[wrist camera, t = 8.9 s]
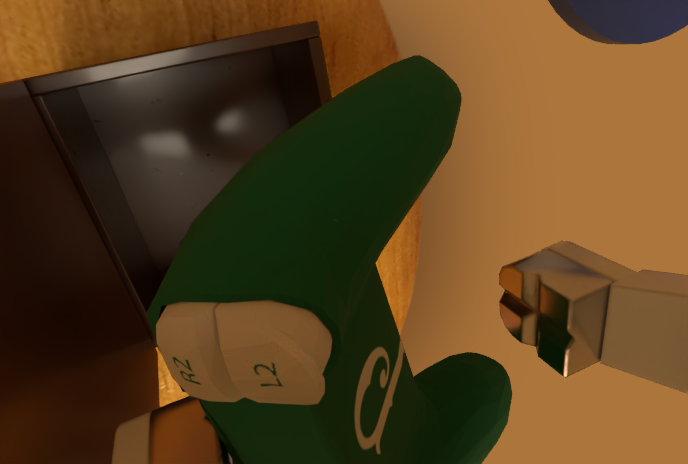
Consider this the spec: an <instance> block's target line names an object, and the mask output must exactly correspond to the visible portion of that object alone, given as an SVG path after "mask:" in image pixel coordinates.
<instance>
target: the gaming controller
mask: <svg viewBox="0 0 688 464" xmlns="http://www.w3.org/2000/svg"><path fill="white" fill-rule="evenodd" d="M460 106H461V93H460V91H459V88H458V86H457V84H456V83H455V82H454V81H453V80H452V79H451V78H450V77H449V76H448V75H447V74H446V73H445V72H444V70H442V69H441V68H440V67H438V66H437V65H435V64H434V63H432V62H431V61H430V60H428V59H426V58H424V57H422V56H420V55H419V56H412V57H410V58H407V59H404V60H401V61H399V62H396V63H393V64H391V65H389V66H388V67H386V68H384V69H382V70H380V71H378V72H377V73H375V74H373V75H371V76H369V77H368V78H366V79H364V80H362V81H360V82H358V83H357V84H355V85H353V86H351V87H349V88H348V89H346V90H344V91H343V92H341V93H340V94H339V95H337V96H336V97H334V98H333V99H331V100H330V101H328V102H327V103H326V104H324V105H323V106H321V107H320V108H318V109H317V110H316V111H314V112H313V113H311V114H310V115H308V116H307V117H305V118H304V119H303V120H301V121H300V122H298V123H297V124H295V125H294V126H293V127H291V128H290V129H288V130H287V131H285V132H284V133H283V134H281V135H280V136H278V137H277V138H275V139H274V140H273V141H271V142H270V143H269V144H267V145H266V146H265V147H263V148H262V149H261V150H259V151H258V152H257V153H255V154H254V155H253V156H252V157H251V158H250V159H249V160H248V161H247V162H246V163H245V164H244V165H243V167H242V168H241V169H240V170H239V171H238V172H237V173H236V174H235V175H234V176H233V178H232V179H231V180H230V181H229V182H228V183H227V184H226V185H225V186H224V187H223V188H222V190H221V191H220V192H219V193H218V194H217V195H216V196H215V197H214V198H213V199H212V200H211V202H210V203H209V204H208V205H207V206H206V207H205V208H204V209H203V210H202V211H201V213H200V214H199V215H198V216H197V217H196V218H195V219H194V220H193V221H192V223H191V225H190V227H189V229H188V231H187V233H186V235H185V237H184V238H183V239H182V240H181V241H180V242H179V243H180V247H179V249H178V251H177V253H176V255H175V257H174V259H173V261H172V263H171V265H170V267H169V269H168V271H167V273H166V275H165V277H164V279H163V281H162V283H161V285H160V287H159V289H158V291H157V293H156V295H155V297H154V299H153V301H152V303H151V305H150V307H149V309H148V311H147V313H146V314H147V317H148V320H149V323H150V326H151V330H152V333H153V336H154V339H155V342H156V345H157V347H158V349H159V350H160V352H161V354H162V356H163V358H164V360H165V363H166V365H167V367H168V369H169V371H170V373H171V375H172V377H173V378H174V379H175V381H176V382H177V383H178V384H179V386H180V387H181V389H182V391H183V392H187V394H188V395H189V396H193V397H196V398H199V402H200V405H201V407H202V409H203V411H204V412H205V414H206V416H207V418H208V419H209V421H210V423H211V424H212V426H213V428H214V429H215V431H216V433H217V434H218V436H219V438H220V440H221V441H222V443H223V445H224V446H225V448H226V450H227V451H228V453H229V455H230V456H231V458H232V459H233V460H234V462H235V463H236V464H482V462H483V461H484V459H485V458H486V457H487V455H488V454H489V452H490V451H491V450H492V448H493V447H494V445H495V444H496V443H497V441H498V439H499V438H500V436H501V434H502V432H503V430H504V428H505V426H506V425H507V422H508V416H509V410H510V404H511V399H512V390H511V384H510V379H509V376H508V374H507V372H506V370H505V369H504V367H503V366H502V365H501V364H499V363H498V362H496V361H495V360H494V359H491V358H489V357H487V356H484V355H481V354H478V353H471V352H470V353H469V352H467V353H462V354H457V355H452V356H449V357H447V358H445V359H443V360H441V361H439V362H437V363H436V364H434V365H432V366H430V367H428V368H426V369H425V370H423V371H422V372H420V373H418V374H417V375H416V376H414V377H413V374H412V371H411V368H410V366H409V362H408V359H407V356H406V353H405V350H404V347H403V344H402V342H401V339H400V335H399V332H398V329H397V326H396V323H395V320H394V317H393V314H392V311H391V309H390V306H389V303H388V300H387V297H386V294H385V291H384V288H383V285H382V282H381V279H380V276H379V273H378V270H377V267H376V264H375V263H376V261H377V259H378V257H379V256H380V254H381V252H382V250H383V249H384V247H385V246H386V244H387V243H388V241H389V240H390V238H391V237H392V235H393V234H394V232H395V231H396V229H397V228H398V227H399V225H400V224H401V222H402V221H403V219H404V218H405V216H406V215H407V213H408V212H409V210H410V209H411V207H412V206H413V204H414V203H415V201H416V200H417V198H418V197H419V195H420V194H421V192H422V191H423V189H424V188H425V186H426V185H427V183H428V182H429V180H430V179H431V177H432V176H433V174H434V173H435V171H436V169H437V168H438V166H439V165H440V163H441V161H442V160H443V158H444V157H445V155H446V154H447V152H448V150H449V149H450V147H451V145H452V141H453V136H454V132H455V128H456V124H457V120H458V116H459V111H460Z"/></svg>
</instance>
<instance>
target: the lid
mask: <svg viewBox="0 0 688 464" xmlns="http://www.w3.org/2000/svg"><path fill="white" fill-rule="evenodd" d="M157 408H160V406H159V380H158V354H157V351H156V349H155V347H154V345H153V343H152V341H151V339H150V337H149V335H148V332H147V330H146V328H145V326H144V324H143V322H142V320H141V318H140V316H139V314H138V312H137V310H136V308H135V306H134V304H133V302H132V300H131V298H130V296H129V294H128V292H127V290H126V288H125V286H124V284H123V282H122V280H121V278H120V276H119V274H118V272H117V270H116V268H115V266H114V264H113V262H112V260H111V258H110V256H109V254H108V252H107V250H106V248H105V246H104V244H103V242H102V240H101V238H100V236H99V234H98V232H97V230H96V228H95V226H94V224H93V222H92V219H91V217H90V215H89V213H88V211H87V209H86V207H85V205H84V203H83V201H82V199H81V197H80V195H79V193H78V191H77V189H76V187H75V185H74V183H73V181H72V179H71V177H70V175H69V173H68V171H67V169H66V167H65V165H64V163H63V161H62V159H61V157H60V155H59V153H58V151H57V149H56V147H55V145H54V143H53V141H52V139H51V137H50V135H49V133H48V131H47V129H46V127H45V125H44V123H43V121H42V119H41V117H40V115H39V113H38V111H37V109H36V107H35V104H34V102H33V100H32V98H31V96H30V94H29V92H28V90H27V88H26V86H25V84H24V82H23V81H22V80H14V81H9V82H4V83H0V464H111V463H112V454H113V446H114V437H115V432H116V430H117V428H118V426H119V425H120V424H121V423H123V422H126V421H128V420H131V419H133V418H136V417H139V416H141V415H144V414H146V413H149V412H152V411H153V410H155V409H157Z"/></svg>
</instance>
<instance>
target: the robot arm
mask: <svg viewBox="0 0 688 464" xmlns="http://www.w3.org/2000/svg"><path fill="white" fill-rule="evenodd" d="M499 284H500V285H501V286H502V287H503V288H504V289H505V292H504V294H503V296H502V298H501V300H500V302H499V303H500V315H501V318H502V320H503V322H504V325H505V327H506V328H507V329H508V330H509V332H510V333H511V334H512V336H514V337H515V338H516V339H517V340H519V341H520V342H521V343H524V344H528V345H532V346H535V347H536V350H537V354H538V357H540V358H541V359H542V360H543V361H545V362H546V363H547V364H549V365H550V366H551V367H552V368H554V369H555V370H556V371H557V372H558V373H560V374H561V375H562V376H564V377H565V378H566V377H568V376H570V375H572V374H574V373H576V372H578V371H580V370H582V369H585V368H586V367H589V366H590V365H593V364H595V363H597V362H599V361H601V364H604V365H607V366H610V367H612V368H616V369H618V370H621V371H624V372H627V373H630V374H633V375H636V376H638V377H641V378H644V379H647V380H650V381H653V382H656V383H659V384H661V385H664V386H667V387H670V388H673V389H676V390H679V391H681V392H684V393H687V394H688V275H683V274H675V273H667V272H659V271H651V270H641V271H639V272H636V271H633V270H631V269H629V268H627V267H624V266H622V265H620V264H618V263H616V262H614V261H611V260H609V259H607V258H605V257H603V256H600V255H598V254H596V253H594V252H591V251H589V250H587V249H585V248H583V247H580V246H578V245H576V244H574V243H572V242H568V241H560V242H558V243H555V244H553V245H551V246H549V247H546V248H544V249H542V250H541V251H538V252H536V253H534V254H531V255H529V256H526V257H524V258H522V259H519V260H517V261H515V262H512V263H510V264H508V265H505V266H503V267H502V269H501V271H500V273H499ZM111 464H236V463H235V462H234V460H233V459H232V458H231V456H230V455H229V453H228V451H227V450H226V448H225V446H224V445H223V443H222V441H221V440H220V438H219V436H218V434H217V433H216V431H215V429H214V428H213V426H212V424H211V423H210V421H209V419H208V418H207V416H206V414H205V412H204V411H203V409H202V407H201V405H200V402H199V398H196V397H193V396H188V397H186V398H183V399H181V400H178V401H175V402H173V403H170V404H168V405H165V406H163V407H160V408H157V409H155V410H153V411H152V412H149V413H146V414H144V415H141V416H139V417H136V418H133V419H131V420H128V421H126V422H123V423H121V424H120V425H119V426H118V428H117V430H116V432H115V437H114V446H113V454H112V463H111Z"/></svg>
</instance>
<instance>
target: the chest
mask: <svg viewBox="0 0 688 464" xmlns="http://www.w3.org/2000/svg"><path fill="white" fill-rule="evenodd" d="M319 36H320V31H319V26H318V22H317V21H312V22H306V23H301V24H296V25H291V26H286V27H281V28H276V29H271V30H266V31H261V32H256V33H251V34H246V35H241V36H236V37H231V38H226V39H221V40H216V41H211V42H206V43H201V44H196V45H191V46H186V47H181V48H176V49H171V50H166V51H160V52H155V53H150V54H145V55H140V56H135V57H130V58H125V59H120V60H115V61H110V62H105V63H100V64H95V65H90V66H85V67H80V68H75V69H70V70H65V71H60V72H55V73H50V74H45V75H40V76H35V77H30V78H25V79H20V80H22V81H23V82H24V84H25V86H26V88H27V90H28V92H29V94H30V96H31V98H32V100H33V102H34V104H35V107H36V109H37V111H38V113H39V115H40V117H41V119H42V121H43V123H44V125H45V127H46V129H47V131H48V133H49V135H50V137H51V139H52V141H53V143H54V145H55V147H56V149H57V151H58V153H59V155H60V157H61V159H62V161H63V163H64V165H65V167H66V169H67V171H68V173H69V175H70V177H71V179H72V181H73V183H74V185H75V187H76V189H77V191H78V193H79V195H80V197H81V199H82V201H83V203H84V205H85V207H86V209H87V211H88V213H89V215H90V217H91V219H92V222H93V224H94V226H95V228H96V230H97V232H98V234H99V236H100V238H101V240H102V242H103V244H104V246H105V248H106V250H107V252H108V254H109V256H110V258H111V260H112V262H113V264H114V266H115V268H116V270H117V272H118V274H119V276H120V278H121V280H122V282H123V284H124V286H125V288H126V290H127V292H128V294H129V296H130V298H131V300H132V302H133V304H134V306H135V308H136V310H137V312H138V314H139V316H140V318H141V320H142V322H143V324H144V326H145V328H146V330H147V332H148V335H149V337H150V339H151V341H152V343H153V345H154V347H157V345H156V342H155V339H154V336H153V333H152V330H151V326H150V323H149V320H148V317H147V314H146V313H147V311H148V309H149V307H150V305H151V303H152V301H153V299H154V297H155V295H156V293H157V291H158V289H159V287H160V285H161V283H162V281H163V279H164V277H165V275H166V273H167V271H168V269H169V267H170V265H171V263H172V261H173V259H174V257H175V255H176V253H177V251H178V249H179V247H180V243H179V242H180V241H181V240H182V239H183V238H184V237H185V235H186V233H187V231H188V229H189V227H190V225H191V223H192V221H193V220H194V219H195V218H196V217H197V216H198V215H199V214H200V213H201V211H202V210H203V209H204V208H205V207H206V206H207V205H208V204H209V203H210V202H211V200H212V199H213V198H214V197H215V196H216V195H217V194H218V193H219V192H220V191H221V190H222V188H223V187H224V186H225V185H226V184H227V183H228V182H229V181H230V180H231V179H232V178H233V176H234V175H235V174H236V173H237V172H238V171H239V170H240V169H241V168H242V167H243V165H244V164H245V163H246V162H247V161H248V160H249V159H250V158H251V157H252V156H253V155H254V154H255V153H257V152H258V151H259V150H261V149H262V148H263V147H265V146H266V145H267V144H269V143H270V142H271V141H273V140H274V139H275V138H277V137H278V136H280V135H281V134H283V133H284V132H285V131H287V130H288V129H290V128H291V127H293V126H294V125H295V124H297V123H298V122H300V121H301V120H303V119H304V118H305V117H307V116H308V115H310V114H311V113H313V112H314V111H316V110H317V109H318V108H320V107H321V106H323V105H324V104H326V103H327V102H328V101H330V100H331V99H332V96H331V91H330V85H329V80H328V74H327V69H326V64H325V58H324V53H323V47H322V42H321V38H320V37H319Z"/></svg>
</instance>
